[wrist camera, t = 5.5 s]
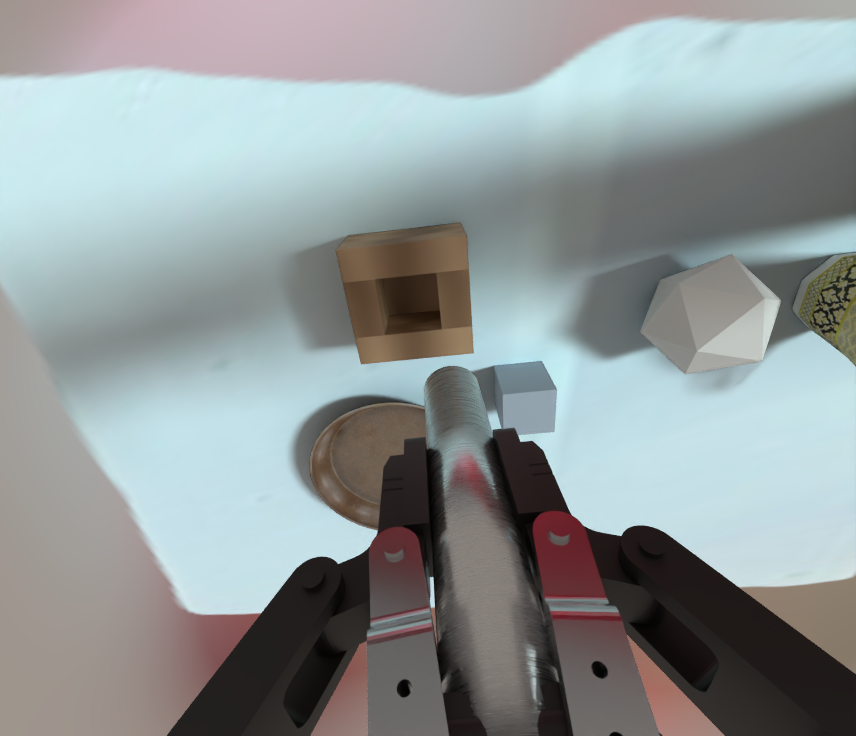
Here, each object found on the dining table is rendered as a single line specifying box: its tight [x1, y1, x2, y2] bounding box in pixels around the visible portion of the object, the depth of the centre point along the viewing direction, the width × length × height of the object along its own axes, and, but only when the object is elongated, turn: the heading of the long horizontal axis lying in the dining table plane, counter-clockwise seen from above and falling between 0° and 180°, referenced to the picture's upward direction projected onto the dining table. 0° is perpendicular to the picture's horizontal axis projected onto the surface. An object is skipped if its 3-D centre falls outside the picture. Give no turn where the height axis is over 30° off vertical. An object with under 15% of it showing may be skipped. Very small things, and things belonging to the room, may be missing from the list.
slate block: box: [494, 361, 557, 435], centre depth 36 cm, size 4×4×5 cm
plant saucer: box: [309, 402, 427, 530], centre depth 42 cm, size 18×18×3 cm
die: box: [640, 254, 782, 374], centre depth 31 cm, size 8×9×10 cm
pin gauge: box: [424, 366, 559, 736], centre depth 12 cm, size 2×2×12 cm
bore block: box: [336, 223, 474, 364], centre depth 31 cm, size 9×9×5 cm
